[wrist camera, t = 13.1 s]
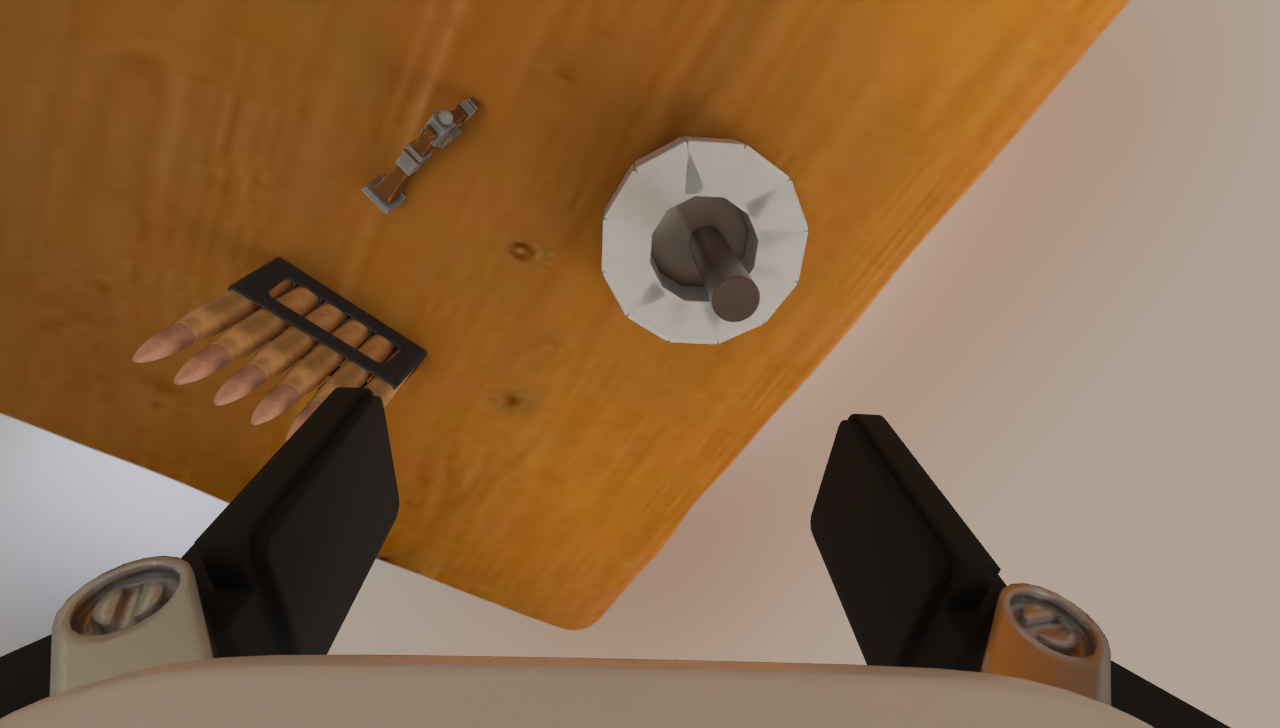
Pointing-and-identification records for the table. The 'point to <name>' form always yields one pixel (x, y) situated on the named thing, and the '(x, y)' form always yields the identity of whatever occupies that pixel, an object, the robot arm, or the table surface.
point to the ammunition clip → (287, 343)
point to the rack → (708, 254)
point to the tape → (674, 181)
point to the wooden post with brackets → (419, 154)
